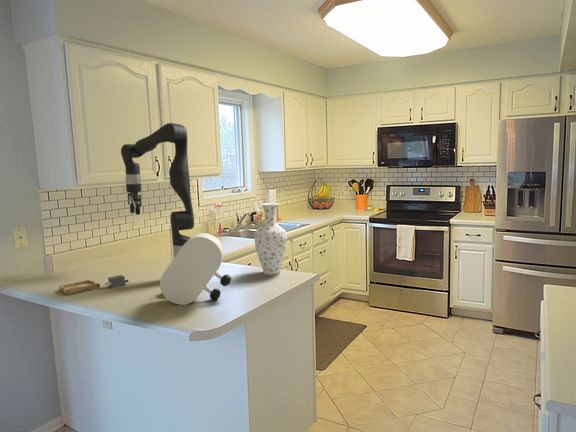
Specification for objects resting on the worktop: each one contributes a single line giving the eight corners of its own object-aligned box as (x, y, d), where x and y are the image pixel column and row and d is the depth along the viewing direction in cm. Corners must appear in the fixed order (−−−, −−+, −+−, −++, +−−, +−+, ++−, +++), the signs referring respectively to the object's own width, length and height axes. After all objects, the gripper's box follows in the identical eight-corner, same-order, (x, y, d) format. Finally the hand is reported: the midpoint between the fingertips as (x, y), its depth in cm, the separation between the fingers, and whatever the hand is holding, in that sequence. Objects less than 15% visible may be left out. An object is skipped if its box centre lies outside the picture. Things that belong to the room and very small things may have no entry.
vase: (271, 267, 234) (268, 201, 229) (294, 272, 224) (292, 203, 219) (249, 274, 222) (246, 204, 217) (272, 279, 212) (270, 206, 207)
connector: (130, 284, 209) (129, 275, 209) (107, 289, 202) (106, 280, 201) (126, 283, 212) (125, 273, 211) (104, 288, 205) (103, 278, 204)
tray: (99, 288, 204) (99, 283, 204) (67, 295, 194) (67, 290, 194) (90, 283, 212) (90, 279, 212) (59, 290, 202) (59, 285, 202)
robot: (246, 259, 186) (198, 225, 183) (244, 264, 177) (195, 229, 174) (204, 314, 188) (157, 282, 186) (201, 322, 180) (152, 288, 177)
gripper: (145, 183, 228) (146, 214, 230) (136, 182, 239) (137, 211, 241) (130, 183, 224) (132, 215, 226) (121, 182, 235) (123, 213, 237)
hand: (135, 213), depth 234 cm, fingers open, 8 cm apart
